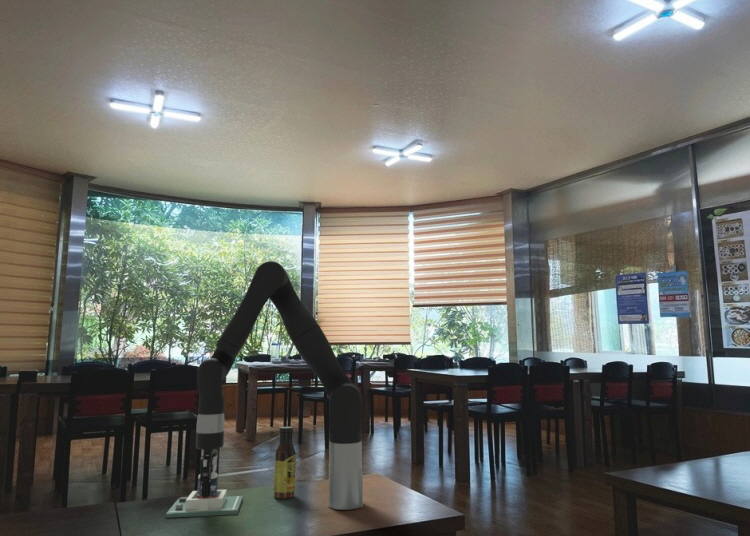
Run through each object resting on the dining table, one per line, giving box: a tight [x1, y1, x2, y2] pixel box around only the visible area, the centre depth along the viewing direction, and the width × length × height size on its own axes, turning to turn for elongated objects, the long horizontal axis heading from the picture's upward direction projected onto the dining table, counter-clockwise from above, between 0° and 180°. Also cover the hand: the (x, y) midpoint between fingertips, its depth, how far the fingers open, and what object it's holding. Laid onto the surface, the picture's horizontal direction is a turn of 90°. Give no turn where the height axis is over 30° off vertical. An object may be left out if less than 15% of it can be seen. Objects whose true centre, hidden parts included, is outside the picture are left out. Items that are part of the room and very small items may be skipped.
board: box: [165, 489, 244, 519], centre depth 140 cm, size 18×14×4 cm
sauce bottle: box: [273, 426, 297, 500], centre depth 152 cm, size 6×6×20 cm
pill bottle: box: [196, 464, 219, 498], centre depth 140 cm, size 5×5×9 cm
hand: (207, 493), depth 140 cm, fingers closed on pill bottle, 5 cm apart
